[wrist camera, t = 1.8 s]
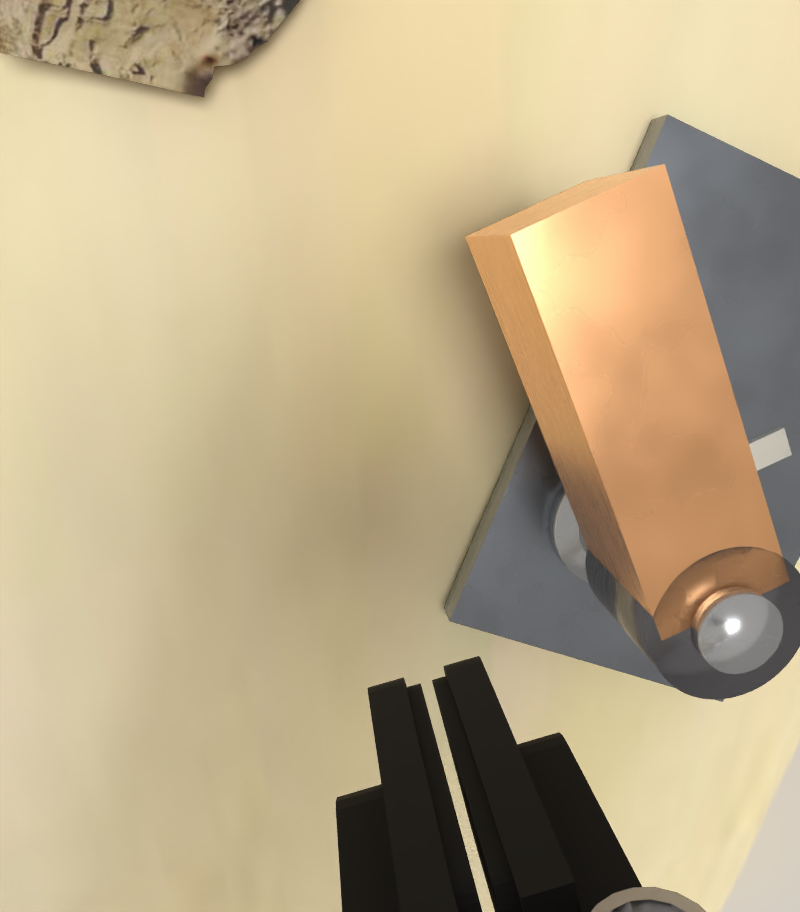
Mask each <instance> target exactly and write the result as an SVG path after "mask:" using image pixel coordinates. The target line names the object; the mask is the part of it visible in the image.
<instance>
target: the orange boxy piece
mask: <svg viewBox="0 0 800 912" xmlns="http://www.w3.org/2000/svg"><path fill="white" fill-rule="evenodd" d="M465 238H466V240H467V243H468V245H469V248H470V250H471V253H472V256H473V258H474V261H475V263H476V266H477V268H478V271H479V273H480V276H481V279H482V281H483V284H484V286H485V289H486V291H487V294H488V296H489V299H490V301H491V304H492V307H493V309H494V312H495V314H496V317H497V319H498V322H499V324H500V327H501V330H502V332H503V335H504V337H505V340H506V342H507V345H508V347H509V350H510V353H511V355H512V358H513V360H514V363H515V365H516V368H517V370H518V373H519V375H520V378H521V381H522V383H523V386H524V388H525V391H526V393H527V396H528V398H529V401H530V404H531V406H532V409H533V411H534V414H535V416H536V419H537V421H538V424H539V427H540V429H541V432H542V434H543V437H544V439H545V442H546V444H547V447H548V449H549V452H550V455H551V457H552V460H553V462H554V465H555V467H556V470H557V472H558V475H559V478H560V480H561V483H562V485H563V488H564V490H565V493H566V495H567V498H568V500H569V503H570V506H571V508H572V511H573V513H574V516H575V518H576V521H577V523H578V526H579V529H580V531H581V534H582V536H583V539H584V541H585V544H586V546H587V552H586V560H585V566H586V575H587V579H588V583H589V585H590V587H591V590H592V592H593V593H594V595H595V596H596V598H597V599H598V600H599V601H600V602H601V604H602V605H603V606H604V607H605V608H606V609H607V611H608V612H609V613H610V614H611V615H612V617H613V618H614V619H615V620H616V621H617V622H618V624H619V625H620V626H621V627H622V628H623V630H624V631H625V632H626V633H627V634H628V635H629V637H630V638H631V639H632V640H633V641H634V643H635V644H636V645H637V646H638V647H639V648H640V650H641V651H642V652H643V653H644V654H645V656H646V657H647V658H648V659H649V660H650V661H651V663H652V664H653V665H654V666H655V667H656V668H657V670H658V671H659V672H660V673H661V674H662V676H663V677H664V678H665V679H666V680H667V681H668V682H669V683H670V684H671V685H673V686H674V687H675V688H677V689H678V690H680V691H682V692H684V693H686V694H688V695H691V696H694V697H698V698H703V699H726V698H732V697H736V696H739V695H743V694H745V693H748V692H750V691H753V690H755V689H757V688H758V687H760V686H762V685H764V684H765V683H767V682H768V681H770V680H771V679H772V678H773V677H775V676H776V675H777V674H778V673H779V672H780V671H781V670H782V669H783V668H784V667H785V666H786V665H787V664H788V663H789V661H790V660H791V659H792V658H793V656H794V655H795V653H796V652H797V650H798V648H799V647H800V573H799V572H798V571H797V570H796V568H795V567H794V566H793V565H792V564H791V563H790V562H789V561H788V560H786V559H785V558H783V556H782V553H781V549H780V546H779V543H778V539H777V536H776V533H775V529H774V526H773V523H772V519H771V516H770V513H769V509H768V506H767V503H766V499H765V496H764V493H763V489H762V486H761V483H760V479H759V476H758V473H757V469H756V466H755V463H754V459H753V456H752V453H751V449H750V446H749V443H748V439H747V436H746V433H745V429H744V426H743V423H742V419H741V416H740V413H739V409H738V406H737V403H736V400H735V396H734V393H733V390H732V386H731V383H730V380H729V376H728V373H727V370H726V366H725V363H724V360H723V356H722V353H721V350H720V346H719V343H718V340H717V336H716V333H715V330H714V326H713V323H712V320H711V316H710V313H709V310H708V306H707V303H706V300H705V296H704V293H703V290H702V286H701V283H700V280H699V276H698V273H697V270H696V266H695V263H694V260H693V256H692V253H691V250H690V246H689V243H688V240H687V236H686V233H685V230H684V226H683V223H682V220H681V216H680V213H679V210H678V206H677V203H676V200H675V196H674V193H673V190H672V186H671V183H670V180H669V176H668V173H667V170H666V166H665V164H662V165H657V166H652V167H648V168H643V169H638V170H634V171H629V172H625V173H620V174H615V175H611V176H606V177H601V178H597V179H592V180H587V181H585V182H583V183H581V184H578V185H576V186H574V187H572V188H570V189H568V190H565V191H563V192H561V193H559V194H557V195H555V196H552V197H550V198H548V199H546V200H544V201H542V202H539V203H537V204H535V205H533V206H531V207H529V208H526V209H524V210H522V211H520V212H518V213H516V214H513V215H511V216H509V217H507V218H505V219H503V220H500V221H498V222H496V223H494V224H492V225H489V226H487V227H485V228H483V229H481V230H479V231H476V232H474V233H472V234H470V235H468V236H466V237H465Z"/></svg>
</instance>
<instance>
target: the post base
mask: <svg viewBox="0 0 800 912" xmlns="http://www.w3.org/2000/svg"><path fill="white" fill-rule="evenodd" d="M662 164H665V166H666V170H667V173H668V176H669V180H670V183H671V186H672V190H673V193H674V196H675V200H676V203H677V206H678V210H679V213H680V216H681V220H682V223H683V226H684V230H685V233H686V236H687V240H688V243H689V246H690V250H691V253H692V256H693V260H694V263H695V266H696V270H697V273H698V276H699V280H700V283H701V286H702V290H703V293H704V296H705V300H706V303H707V306H708V310H709V313H710V316H711V320H712V323H713V326H714V330H715V333H716V336H717V340H718V343H719V346H720V350H721V353H722V356H723V360H724V363H725V366H726V370H727V373H728V376H729V380H730V383H731V386H732V390H733V393H734V396H735V400H736V403H737V406H738V409H739V413H740V416H741V419H742V423H743V426H744V429H745V433H746V436H747V439H748V443H749V446H750V449H751V453H752V456H753V459H754V463H755V466H756V469H757V473H758V476H759V479H760V483H761V486H762V489H763V493H764V496H765V499H766V503H767V506H768V509H769V513H770V516H771V519H772V523H773V526H774V529H775V533H776V536H777V539H778V543H779V546H780V549H781V553H782V556H783V558H785V559H786V560H788V561H789V562H790V563H791V564H792V565H793V566H795V564H796V562H797V560H798V559H799V557H800V179H799V178H797V177H795V176H793V175H791V174H789V173H786V172H784V171H782V170H780V169H778V168H776V167H774V166H772V165H770V164H768V163H766V162H764V161H762V160H760V159H758V158H756V157H754V156H752V155H750V154H747V153H745V152H743V151H741V150H739V149H737V148H735V147H733V146H731V145H729V144H727V143H725V142H723V141H721V140H719V139H717V138H715V137H713V136H711V135H708V134H706V133H704V132H702V131H700V130H698V129H696V128H694V127H692V126H690V125H688V124H686V123H684V122H682V121H680V120H678V119H676V118H674V117H672V116H670V115H665V116H662V117H659V118H657V119H654V120H652V121H651V123H650V126H649V128H648V130H647V133H646V135H645V138H644V140H643V142H642V145H641V147H640V149H639V152H638V154H637V156H636V159H635V161H634V163H633V166H632V168H631V170H630V171H634V170H638V169H643V168H648V167H652V166H657V165H662ZM586 552H587V546H586V544H585V541H584V539H583V536H582V534H581V531H580V529H579V526H578V523H577V521H576V518H575V516H574V513H573V511H572V508H571V506H570V503H569V500H568V498H567V495H566V493H565V490H564V488H563V485H562V483H561V480H560V478H559V475H558V472H557V470H556V467H555V465H554V462H553V460H552V457H551V455H550V452H549V449H548V447H547V444H546V442H545V439H544V437H543V434H542V432H541V429H540V427H539V424H538V421H537V419H536V416H535V414H534V411H533V409H532V406H531V404H530V407H529V409H528V411H527V414H526V416H525V418H524V421H523V423H522V425H521V428H520V430H519V432H518V435H517V437H516V439H515V442H514V444H513V446H512V449H511V451H510V454H509V456H508V458H507V461H506V463H505V465H504V468H503V470H502V472H501V475H500V477H499V479H498V482H497V484H496V486H495V489H494V491H493V493H492V496H491V498H490V500H489V503H488V505H487V507H486V510H485V512H484V514H483V517H482V519H481V521H480V524H479V526H478V528H477V531H476V533H475V535H474V538H473V540H472V542H471V545H470V547H469V549H468V552H467V554H466V556H465V559H464V561H463V564H462V566H461V568H460V571H459V573H458V575H457V578H456V580H455V582H454V585H453V587H452V589H451V592H450V594H449V596H448V599H447V601H446V603H445V606H444V609H445V611H446V614H447V616H448V619H449V621H451V622H454V623H458V624H461V625H464V626H468V627H471V628H475V629H478V630H481V631H485V632H488V633H491V634H495V635H498V636H502V637H505V638H508V639H512V640H515V641H519V642H522V643H525V644H529V645H532V646H535V647H539V648H542V649H546V650H549V651H552V652H556V653H559V654H563V655H566V656H569V657H573V658H576V659H579V660H583V661H586V662H590V663H593V664H596V665H600V666H603V667H607V668H610V669H613V670H617V671H620V672H623V673H627V674H630V675H634V676H637V677H640V678H644V679H647V680H651V681H654V682H657V683H661V684H664V685H667V686H671V687H674V686H673V685H671V684H670V683H669V682H668V681H667V680H666V679H665V678H664V677H663V676H662V674H661V673H660V672H659V671H658V670H657V668H656V667H655V666H654V665H653V664H652V663H651V661H650V660H649V659H648V658H647V657H646V656H645V654H644V653H643V652H642V651H641V650H640V648H639V647H638V646H637V645H636V644H635V643H634V641H633V640H632V639H631V638H630V637H629V635H628V634H627V633H626V632H625V631H624V630H623V628H622V627H621V626H620V625H619V624H618V622H617V621H616V620H615V619H614V618H613V617H612V615H611V614H610V613H609V612H608V611H607V609H606V608H605V607H604V606H603V605H602V604H601V602H600V601H599V600H598V599H597V598H596V596H595V595H594V593H593V592H592V590H591V587H590V585H589V583H588V579H587V575H586V566H585V560H586ZM674 688H675V687H674ZM715 700H718V701H722V702H723V700H724V699H715Z"/></svg>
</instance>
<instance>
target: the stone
mask: <svg viewBox="0 0 800 912" xmlns="http://www.w3.org/2000/svg"><path fill="white" fill-rule="evenodd" d="M299 1H300V0H0V53H4V54H9V55H13V56H18V57H23V58H28V59H33V60H37V61H42V62H47V63H51V64H56V65H61V66H65V67H70V68H74V69H79V70H84V71H88V72H93V73H97V74H102V75H106V76H111V77H115V78H120V79H124V80H129V81H133V82H138V83H142V84H147V85H151V86H156V87H160V88H165V89H169V90H174V91H178V92H183V93H187V94H192V95H196V96H201V97H204V93H205V88H206V86H207V84H208V83H209V81H210V80H211V79H212V75H213V71H214V66H225V65H232V64H234V63H236V62H238V61H240V60H242V59H244V58H246V57H247V56H248V55H249V54H250V53H251V52H252V51H253V50H254V49H255V48H256V47H258V46H260V45H262V44H263V43H265V42H267V41H268V39H269V37H270V35H271V34H272V33H273V32H274V31H275V29H276V28H277V27H278V26H279V25H280V23H281V22H282V21H283V19H284V18H285V17H286V16H287V15H288V14H289V13H290V12H291V10H292V9H293V8H294V7H295V5H296V4H297V3H298V2H299Z"/></svg>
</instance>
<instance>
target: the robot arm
mask: <svg viewBox="0 0 800 912" xmlns="http://www.w3.org/2000/svg"><path fill="white" fill-rule="evenodd" d="M444 671H445V675H446V676H445V677H441V678H438V679H434V680H432V682H433V686H434V689H435V693H436V697H437V701H438V704H439V708H440V712H441V716H442V720H443V723H444V727H445V731H446V735H447V738H448V742H449V746H450V750H451V753H452V757H453V761H454V765H455V769H456V772H457V776H458V780H459V784H460V787H461V791H462V795H463V799H464V802H465V806H466V810H467V814H468V817H469V821H470V825H471V829H472V832H473V836H474V840H475V843H476V847H477V850H478V854H479V857H480V861H481V864H482V868H483V871H484V875H485V878H486V882H487V885H488V889H489V892H490V896H491V899H492V903H493V906H494V910H495V912H706V911H705V910H704V909H703V908H702V907H701V906H700V905H698V904H697V903H695V902H693V901H692V900H690V899H688V898H686V897H684V896H682V895H681V894H679V893H676V892H673V891H669V890H665V889H661V888H657V887H642V886H641V884H640V882H639V880H638V878H637V876H636V874H635V872H634V870H633V869H632V867H631V865H630V863H629V861H628V859H627V857H626V855H625V853H624V851H623V849H622V847H621V846H620V844H619V842H618V840H617V838H616V836H615V834H614V832H613V830H612V828H611V826H610V824H609V823H608V821H607V819H606V817H605V815H604V813H603V811H602V809H601V807H600V805H599V803H598V801H597V800H596V798H595V796H594V794H593V792H592V790H591V788H590V786H589V784H588V782H587V780H586V778H585V777H584V775H583V773H582V771H581V769H580V767H579V765H578V763H577V761H576V759H575V757H574V755H573V753H572V752H571V750H570V748H569V746H568V744H567V742H566V740H565V739H564V737H563V735H562V734H560V733H555V734H552V735H548V736H545V737H542V738H538V739H535V740H531V741H528V742H525V743H521V744H518V745H517V743H516V741H515V738H514V736H513V734H512V731H511V729H510V727H509V724H508V722H507V720H506V717H505V715H504V712H503V710H502V708H501V705H500V703H499V701H498V698H497V696H496V694H495V691H494V689H493V686H492V684H491V682H490V679H489V677H488V675H487V672H486V670H485V667H484V665H483V663H482V660H481V658H480V657H479V656H477V657H474V658H470V659H467V660H463V661H460V662H456V663H453V664H449V665H446V666H444ZM368 695H369V702H370V709H371V716H372V722H373V729H374V736H375V743H376V749H377V756H378V763H379V770H380V776H381V783H382V784H381V785H378V786H374V787H371V788H367V789H364V790H361V791H357V792H354V793H350V794H347V795H344V796H340V797H337V800H336V817H337V833H338V849H339V865H340V881H341V897H342V912H482V909H481V905H480V901H479V898H478V894H477V890H476V886H475V883H474V879H473V875H472V872H471V868H470V864H469V860H468V857H467V853H466V849H465V845H464V842H463V838H462V834H461V831H460V827H459V823H458V820H457V816H456V812H455V809H454V805H453V801H452V797H451V794H450V790H449V786H448V783H447V779H446V775H445V772H444V768H443V764H442V761H441V757H440V753H439V750H438V746H437V742H436V739H435V735H434V731H433V728H432V724H431V720H430V716H429V713H428V709H427V705H426V702H425V698H424V694H423V691H422V687H421V684H417V685H414V686H410V687H406V683H405V680H404V678H400V679H397V680H393V681H390V682H386V683H383V684H379V685H376V686H372V687H369V688H368Z"/></svg>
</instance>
